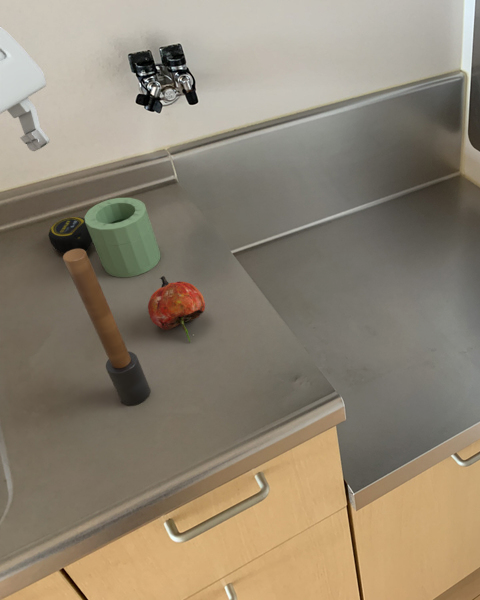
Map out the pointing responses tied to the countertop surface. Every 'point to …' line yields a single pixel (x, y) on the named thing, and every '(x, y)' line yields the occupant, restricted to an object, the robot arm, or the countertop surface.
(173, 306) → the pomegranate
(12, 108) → the robot arm
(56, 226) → the tape measure
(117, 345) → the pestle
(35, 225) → the countertop surface
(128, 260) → the green tube segment
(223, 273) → the countertop surface
